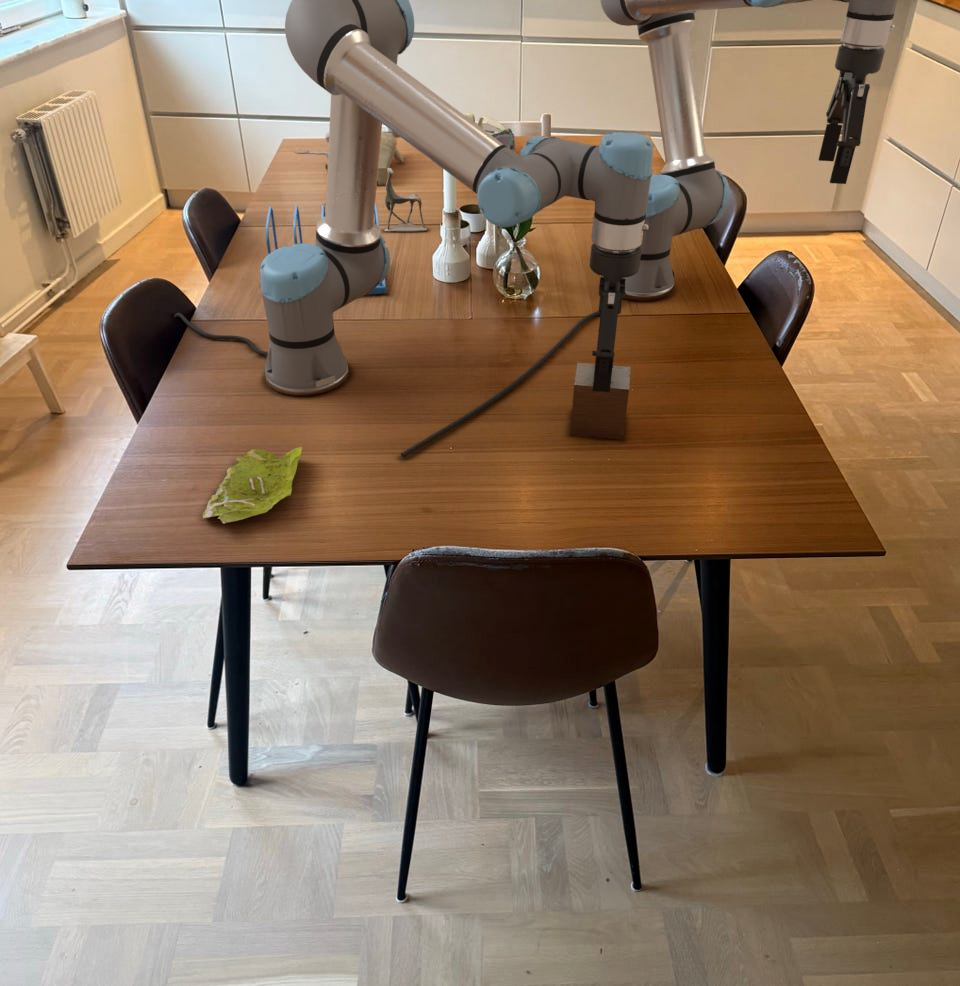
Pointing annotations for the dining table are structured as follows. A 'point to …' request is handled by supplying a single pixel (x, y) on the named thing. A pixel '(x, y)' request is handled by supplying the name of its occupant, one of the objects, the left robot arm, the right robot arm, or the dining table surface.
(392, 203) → the figurine
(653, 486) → the dining table surface
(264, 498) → the topographical model
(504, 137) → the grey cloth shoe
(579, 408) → the block
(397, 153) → the figurine
